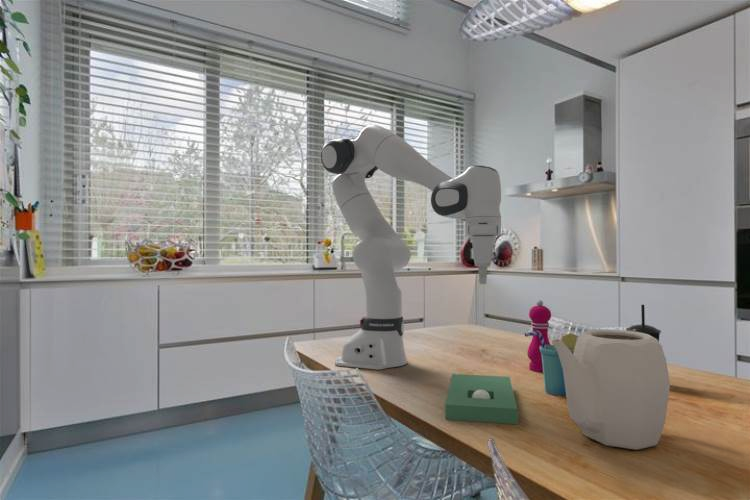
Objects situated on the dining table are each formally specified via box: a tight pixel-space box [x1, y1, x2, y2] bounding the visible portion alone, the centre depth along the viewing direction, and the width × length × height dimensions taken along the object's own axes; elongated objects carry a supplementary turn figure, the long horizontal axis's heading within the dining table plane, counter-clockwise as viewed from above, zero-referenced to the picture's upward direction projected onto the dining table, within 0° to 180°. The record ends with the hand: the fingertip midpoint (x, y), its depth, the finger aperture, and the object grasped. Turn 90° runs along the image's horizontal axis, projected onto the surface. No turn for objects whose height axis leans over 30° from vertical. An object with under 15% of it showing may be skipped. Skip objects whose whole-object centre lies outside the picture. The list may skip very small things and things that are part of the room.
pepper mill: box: [526, 299, 552, 373], centre depth 130 cm, size 7×7×20 cm
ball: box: [472, 390, 491, 399], centre depth 97 cm, size 4×4×4 cm
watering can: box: [550, 328, 671, 451], centre depth 81 cm, size 16×27×19 cm, turn 111°
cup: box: [524, 330, 579, 397], centre depth 109 cm, size 14×8×15 cm, turn 99°
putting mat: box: [445, 373, 519, 425], centre depth 102 cm, size 14×24×3 cm, turn 167°
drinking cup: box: [625, 304, 662, 341], centre depth 116 cm, size 8×8×20 cm
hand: (482, 283), depth 115 cm, fingers closed
